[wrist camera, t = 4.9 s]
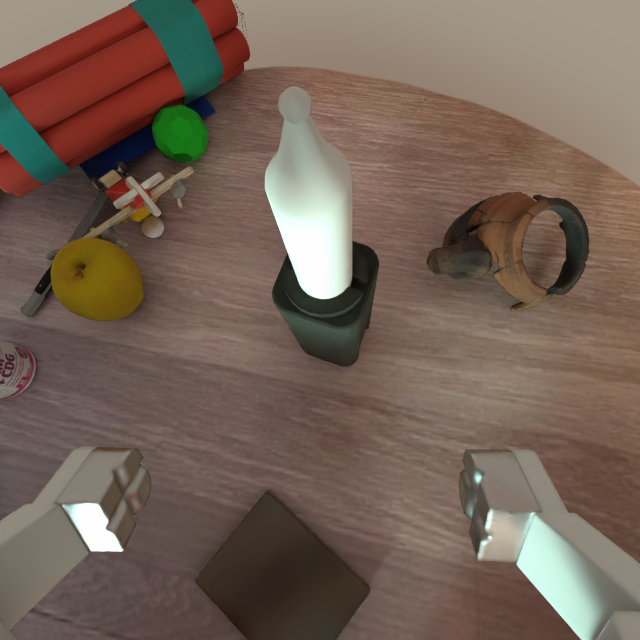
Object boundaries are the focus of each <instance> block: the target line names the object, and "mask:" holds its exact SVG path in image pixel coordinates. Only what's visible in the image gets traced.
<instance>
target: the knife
mask: <svg viewBox="0 0 640 640" xmlns="http://www.w3.org/2000/svg"><path fill="white" fill-rule="evenodd" d="M106 191H107V189H105V190H104V191H103V192H101V194H100V195H99V196H98V198H97V199H96V201H95V202H94V203H93V205H92V206H91V208H90V209H89V211H88V212H87V214H86V215H85V217H84V218H83V220H82V221H81V223H80V224H79V226H78V227H77V229H76V231H75V232H74V234H73V236H72V237H71V239H70V240H69V242H68V243H70V242H72V241H74V240H77V239H81V238H82V237H84V236H85V234H86V233H87V231H88V230H89V228H90V226H91V225H92V223H93V222H94V220H95V219H96V217H97V216H98V214H99V212H100V211H101V209H102V208H103V206H104V204H105V203H106V201H107V200H108V198H109V196H108V195H107V194H106ZM68 243H67V244H68ZM67 244H66V245H67ZM58 252H59V250H55V251H52V252H50V253H49V254H48V255H47V256H46V258H47V259H48V260H52V259H53V258H54V255H55V254H57V253H58ZM51 267H52V264H51V266H50V268H49V269H48V270H47V272H46V273H45V274H44V276H43V277H42V279H41V280H40V282H39V283H38V285H37V286H36V288H35V291H34V292H33V294H32V295H31V297H30V298H29V300H28V301H27V302H26V304H25V305H24V306H22V307H21V308H20V310H21V312H22V313H23V314H24V315H27V316H30V317H31V316H33V314H34V313H35V311H36V310H37V309H38V307H39V306H40V305H41V303H42V302H43V300H44V299H45V297H46V296H47V294H48V293H49V291H50V290H51V288H52V281H51Z"/></svg>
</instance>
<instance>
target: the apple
mask: <svg viewBox="0 0 640 640" xmlns="http://www.w3.org/2000/svg"><path fill="white" fill-rule="evenodd" d="M51 281H52V288H53V291H54V294H55V296H56V297H57V298H58V300H59V301H60V302H61V303H62V304H63V305H64V306H65V307H66V308H67V309H68V310H70V311H71V312H73V313H75V314H77V315H79V316H82V317H85V318H89V319H92V320H96V321H112V320H118V319H122V318H125V317H127V316H129V315H130V314H131V313H133V312H134V311H135V309H136V308H137V307H138V305H139V304H140V303H141V302H142V300H143V296H144V291H143V281H142V275H141V272H140V270H139V268H138V266H137V264H136V263H135V261H134V260H133V259H132V258H131V256H130V255H129V254H128V253H127V252H126V251H124V250H123V249H122V248H120V247H119V246H117V245H115V244H113V243H111V242H109V241H106V240H102V239H97V238H82V239H77V240H74V241H72V242H70V243H68V244H67V245H65V246H64V247H63V248H62V249H61V250H60V251H59V252H58V253H57V254H56V256H55V257H54V259H53V262H52V267H51Z"/></svg>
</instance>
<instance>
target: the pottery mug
mask: <svg viewBox="0 0 640 640" xmlns="http://www.w3.org/2000/svg"><path fill="white" fill-rule="evenodd" d="M533 198H534V199H536V200H537V202H536V201H534V200H533V199H532V198H531V197H529V196H528V195H526V194H523V193H522V192H514V193H510V192H508V193H504V194H501V195H499V196H495V197H490V198H488V199H486V200H483V201H481V202H479V203H477V204H476V205H474V206H472V207H471V208H470V209H469V210H468V211H466V212H465V213H464V214H463V215H461V216H460V217H458V218H457V219H456V220H455V221H454V222H453V223H452V225H451V226H450V227H449V229H448V231H447V232H446V235H445V238H444V242H443V247H442V248H436V249H433V250H431V251H430V252H429V256H428V259H427V264H428V266H429V269H430V270H431V271H432V272H433V273H434V274H449V275H450V276H451V277H452V278H454V279H459V278H463V277H465V278H479V277H481V276H482V275H483V274H485V273H487V272H488V271H489V270H490V268H491V266H492V261H494V262H495V263H497V265H498V267H499V269H498V270H497V271H496V272H494V274H493V276H494V277H495V279H496V280H497V281H498V282H499V283H500V284H501V285H502V286H503V287H504V289H505V290H506V291H507V292H509V293H510V294H512V295H513V296H514V297H515V298H516V299H518V300H519V301H521V302H520V303H517V304H515V305H512V306H511V307H510V310H511V311H518V310H523V309H528V308H532V307H535V306H537V305H539V304H540V303H543V302H544V301H546V300H547V299H549V298H550V297H552V296H553V295H554V294H557V295H564V294H566V293H567V292H568V291H570V290H571V289H572V288H573V287H574V285H575V284H576V283H577V282H578V280H579V279H580V277H581V275H582V274H583V271H584V268H585V265H586V264H585V262H586V261H587V258H588V254H589V235H588V229H587V226H586V223H585V220H584V219H583V216H582V215H581V213H580V212H579V211H578V209H577V208H576V207H575V206H574V205H573V204H572V203H571V202H569V201H567V200H565V199H560V198H547V197H544V196H542V195H535V196H533ZM547 209H549V210H553V211H555V212H556V213H558V214H559V215H560V216H561V218H562V219H563V221H562V222H560V223H559V225H560V227H561V229H562V230H563V231H564V233H565V237H566V261H565V262H564V264H563V267H562V270H561V273H560V275H559V277H558V279H557V281H556V283H555V284H554V285H553V286H551V287H550V288H548V289H547V290H546V288H543V287H541V286H539V285H537V284H536V283H534V282H533V281H532V280H531V278H530V277H529V275H528V273H527V271H526V268H525V266H524V264H523V261H522V247H523V240H524V236H525V233H526V230H527V228H528V226H529V224H530V222H531V221H532V219H533V218H534V217H535V216H536V215H537V214H539V213H540V212H542V211H544V210H547ZM477 228H478V229H477ZM476 229H477V230H476ZM473 230H476V233H475V234H474V235H471V236H469V232H472V231H473Z"/></svg>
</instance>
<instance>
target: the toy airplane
mask: <svg viewBox="0 0 640 640" xmlns="http://www.w3.org/2000/svg"><path fill="white" fill-rule="evenodd" d="M116 166H117V168H118V170H117V171H115V170H111V171H110V172H108V173H107V174H105V175H104V176H102V177H101V178H99V180H97V179H96V178H95V177H94V176H93V177H92V178H90V181H91V183H92V184H93V186H94V187H95V188H96V189H97V190H98V191H99V192H103V191H104V190H105V189H107V191H106V194H107V195H108V196H109V198H110V199H111V200H112V201H113V205H114V206H115V207H116V208H117V209H120V210H121V211H120V212H119V213H117V214H116V215H115V216H113V217H111V218H110V219H109V220H107V221H106V222H104V223H103V224H101V225H100V226H98V227H97V228H91V229H90V231H91V232H90V233H88V234H87V235H85V236H84V237H82V238H99V239H102V240H106V241H109V242H111V243H113V244H115V243H118V244H121V245H122V246H127V243H126V242H125V241H121V240H119V239H118V234H117V232H116V231H115V230H114V229H113V227H114V226H115V225H117V224H118V223H122V224H124V223H126V222H127V221H128V219H131V220H132V221H141V230H142V232H143V233H144V234H145V235H146V236H148V237H150V238H156V237H159V236H160V235H161V234H162V233H163V231H164V224H163V222H162V220H161V219H159V218H158V216H159V215H160V214H161V211H160V210H159V208H158V207H157V206H156V205H155V204H154V202H156V201H157V200H158V198H159V197H158V196H160V195H161V194H163V193H164V192H166V191H167V190H169V192H170V194H171V195H172V196H173V197H175V198H177V202H178V206H179V208H182V203H181V200H180V198H181V197H183V196H184V194H185V192H186V185H185V183H184V182H183V181H182V180H183V179H185V178H186V177H188V176H189V175H190V174H192V173H193V172H194V169H193V168H192V167H191V166H189V167H187V168H185V169H184V170H182V171H181V172H179V173H178V174H176V175H175V176H174V175H173V174H172V175H170V179H168V180H167V181H165V182H164V183H162V184H161V185H159V186H158V187H156V188H154V189H153V190H151V191H149V189H151V188H152V187H153V186H155V185H156V184H157V183H159V182H160V181H161V180H162V179H163V178H164V177H163V175H162V174H161V173H160V172H158V173H156V174H155V175H153V176H152V177H150V178H149V179H147V180H146V181H144V182H143V183H141V184H140V183H139V182H136V181H135V180H134V179H133V177H131V176H129V175H130V172H129V170H128V168H127V167H126V166H125V164H124V163H123V162H121V161H118V162H116ZM117 172H119V173H122V174H123V175H124V176H126V177H127V176H129V177H128V178H125V179H122V178H121V177H120V175H119V174H118V173H117ZM150 214H152V215H154V216H151V215H150ZM82 238H81V239H82Z"/></svg>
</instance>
